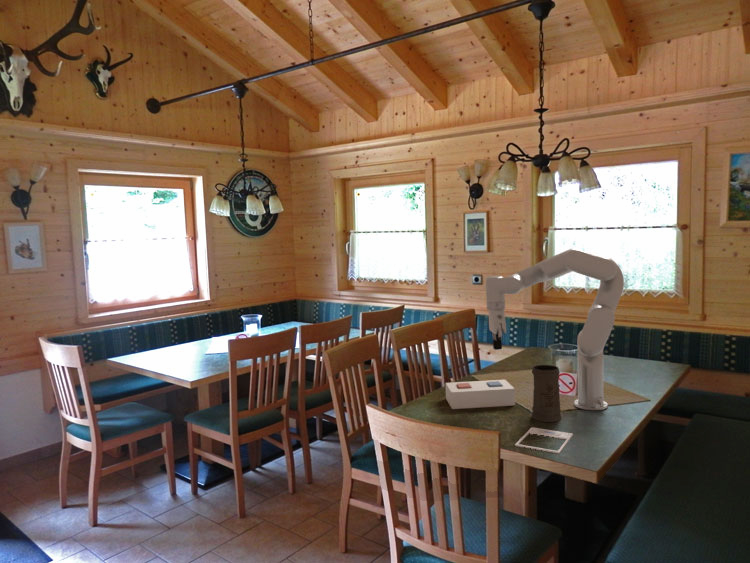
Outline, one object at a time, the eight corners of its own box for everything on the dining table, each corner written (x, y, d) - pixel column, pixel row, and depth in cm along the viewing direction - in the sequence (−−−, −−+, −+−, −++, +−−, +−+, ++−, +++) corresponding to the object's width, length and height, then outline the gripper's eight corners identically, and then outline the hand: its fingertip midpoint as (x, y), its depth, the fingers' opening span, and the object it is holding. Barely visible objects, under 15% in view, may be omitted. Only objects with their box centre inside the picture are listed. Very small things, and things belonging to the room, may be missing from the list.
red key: (471, 395, 234) (471, 386, 234) (459, 396, 234) (459, 386, 234) (468, 392, 239) (468, 382, 239) (457, 392, 239) (456, 383, 239)
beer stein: (567, 421, 210) (565, 368, 209) (540, 424, 208) (538, 370, 207) (548, 411, 225) (546, 361, 224) (523, 413, 223) (520, 363, 223)
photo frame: (573, 433, 196) (559, 451, 181) (573, 436, 196) (559, 454, 181) (531, 426, 204) (515, 443, 189) (531, 429, 204) (515, 447, 189)
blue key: (502, 393, 235) (501, 384, 234) (490, 394, 235) (490, 385, 234) (498, 390, 240) (498, 381, 239) (487, 391, 239) (487, 381, 239)
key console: (515, 405, 231) (514, 388, 230) (452, 409, 230) (451, 392, 229) (505, 395, 245) (505, 379, 244) (446, 398, 244) (445, 382, 243)
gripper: (510, 307, 228) (511, 352, 230) (499, 303, 243) (501, 344, 244) (491, 308, 227) (493, 353, 229) (482, 304, 242) (484, 346, 244)
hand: (497, 348), depth 237 cm, fingers closed
